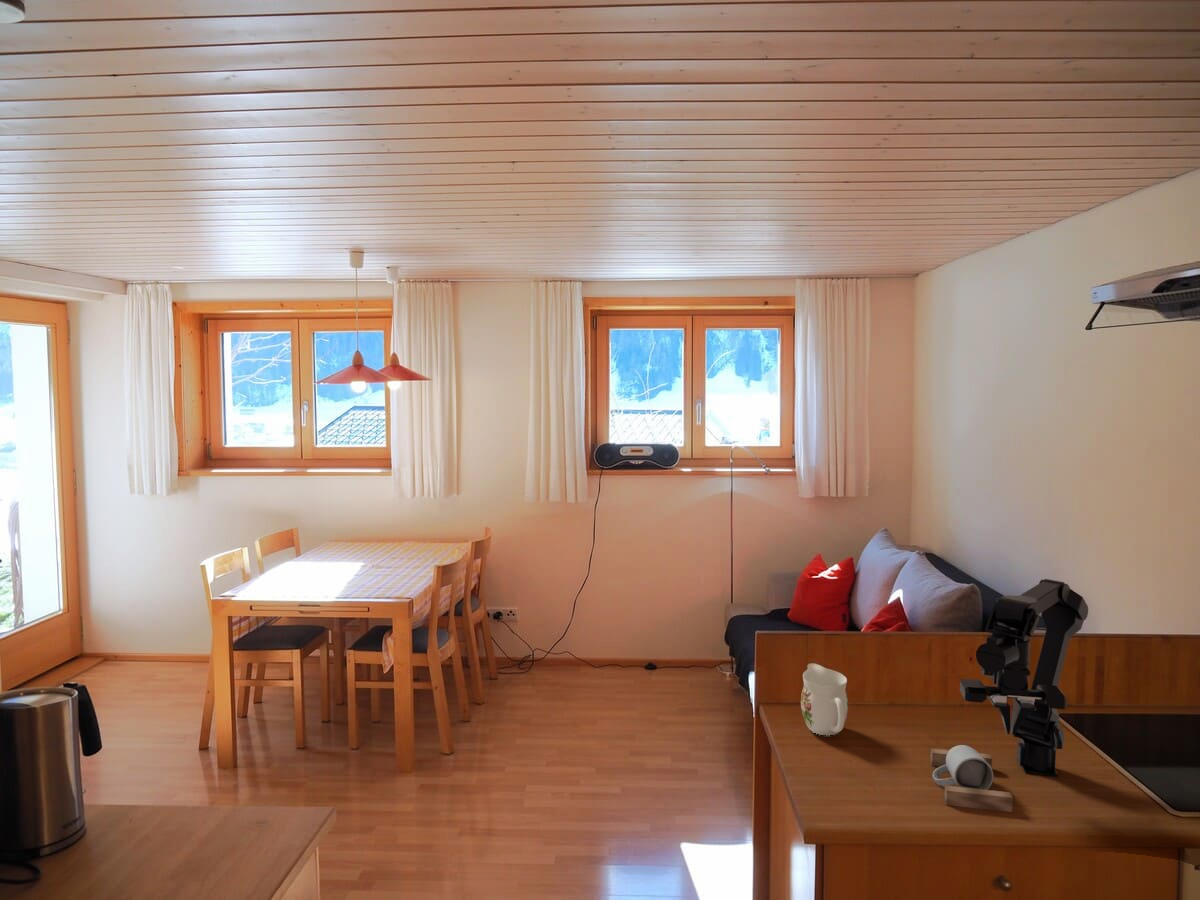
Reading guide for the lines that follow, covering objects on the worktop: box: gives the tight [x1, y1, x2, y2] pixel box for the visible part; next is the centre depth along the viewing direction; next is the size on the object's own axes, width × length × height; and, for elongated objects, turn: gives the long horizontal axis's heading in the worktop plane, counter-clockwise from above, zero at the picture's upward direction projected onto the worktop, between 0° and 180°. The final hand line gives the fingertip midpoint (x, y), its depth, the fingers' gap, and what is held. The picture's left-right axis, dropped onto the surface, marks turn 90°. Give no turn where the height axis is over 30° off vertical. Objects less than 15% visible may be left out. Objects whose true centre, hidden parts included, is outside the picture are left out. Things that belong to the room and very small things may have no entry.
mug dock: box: [929, 748, 1014, 813], centre depth 162 cm, size 12×18×3 cm, turn 166°
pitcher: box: [800, 663, 849, 737], centre depth 186 cm, size 11×18×14 cm, turn 8°
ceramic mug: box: [932, 744, 994, 790], centre depth 162 cm, size 11×8×8 cm
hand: (1010, 733), depth 159 cm, fingers closed
